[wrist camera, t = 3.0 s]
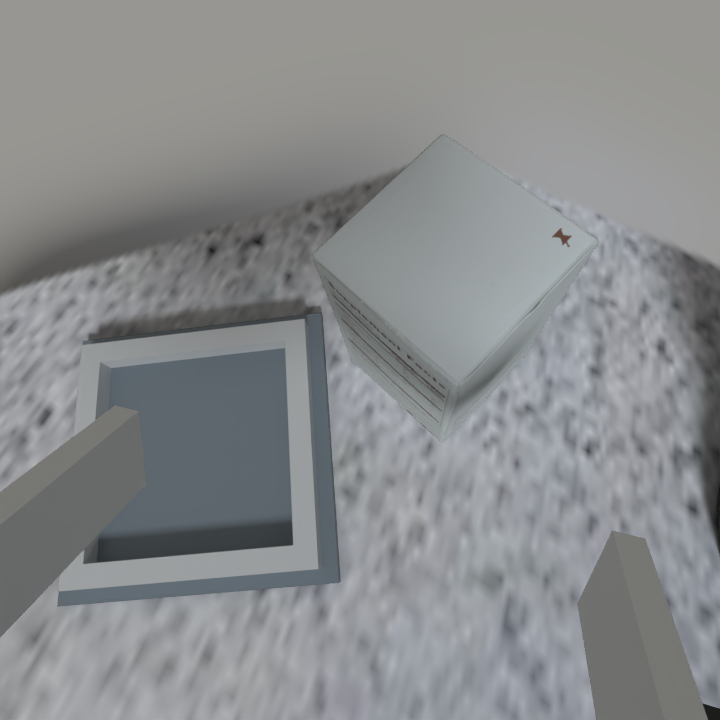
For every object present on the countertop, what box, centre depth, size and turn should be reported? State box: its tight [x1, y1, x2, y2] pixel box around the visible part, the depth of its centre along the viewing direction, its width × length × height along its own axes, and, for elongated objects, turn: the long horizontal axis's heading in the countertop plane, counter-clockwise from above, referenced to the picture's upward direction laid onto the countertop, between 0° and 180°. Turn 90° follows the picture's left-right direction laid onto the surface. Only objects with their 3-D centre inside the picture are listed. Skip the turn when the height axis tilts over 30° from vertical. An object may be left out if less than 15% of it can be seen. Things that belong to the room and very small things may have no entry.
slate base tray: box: [57, 313, 340, 606], centre depth 28 cm, size 15×15×2 cm
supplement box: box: [312, 135, 599, 442], centre depth 23 cm, size 7×7×13 cm
